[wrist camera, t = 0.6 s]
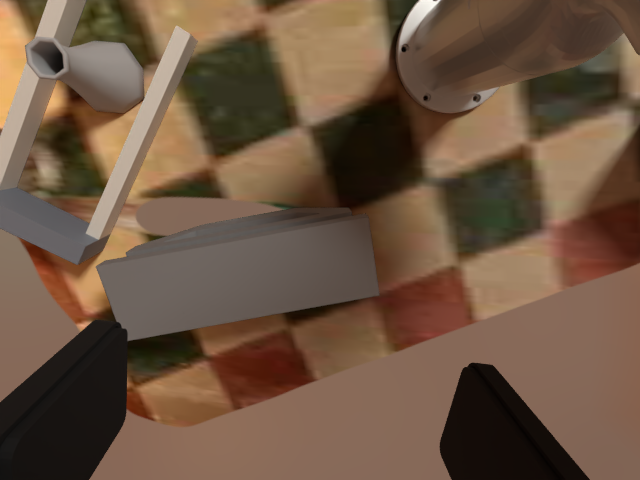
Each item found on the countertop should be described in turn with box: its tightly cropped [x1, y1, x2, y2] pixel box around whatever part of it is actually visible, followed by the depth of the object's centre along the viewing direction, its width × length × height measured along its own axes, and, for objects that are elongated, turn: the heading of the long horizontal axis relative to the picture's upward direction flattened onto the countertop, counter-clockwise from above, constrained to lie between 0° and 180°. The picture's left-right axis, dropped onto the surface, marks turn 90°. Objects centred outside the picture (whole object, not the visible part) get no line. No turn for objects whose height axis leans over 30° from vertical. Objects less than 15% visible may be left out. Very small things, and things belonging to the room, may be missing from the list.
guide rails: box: [0, 0, 198, 240], centre depth 37 cm, size 24×12×2 cm, turn 150°
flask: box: [25, 36, 145, 113], centre depth 33 cm, size 7×7×10 cm
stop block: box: [0, 187, 110, 265], centre depth 39 cm, size 2×12×5 cm, turn 59°
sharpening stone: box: [96, 208, 380, 341], centre depth 38 cm, size 25×8×11 cm, turn 100°
